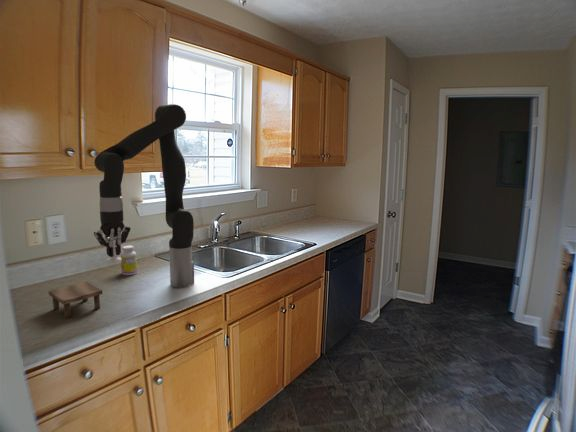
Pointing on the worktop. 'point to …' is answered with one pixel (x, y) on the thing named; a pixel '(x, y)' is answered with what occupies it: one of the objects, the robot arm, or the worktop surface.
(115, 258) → the chess piece
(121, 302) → the worktop surface
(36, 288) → the worktop surface
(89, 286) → the small wooden table
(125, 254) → the supplement bottle
